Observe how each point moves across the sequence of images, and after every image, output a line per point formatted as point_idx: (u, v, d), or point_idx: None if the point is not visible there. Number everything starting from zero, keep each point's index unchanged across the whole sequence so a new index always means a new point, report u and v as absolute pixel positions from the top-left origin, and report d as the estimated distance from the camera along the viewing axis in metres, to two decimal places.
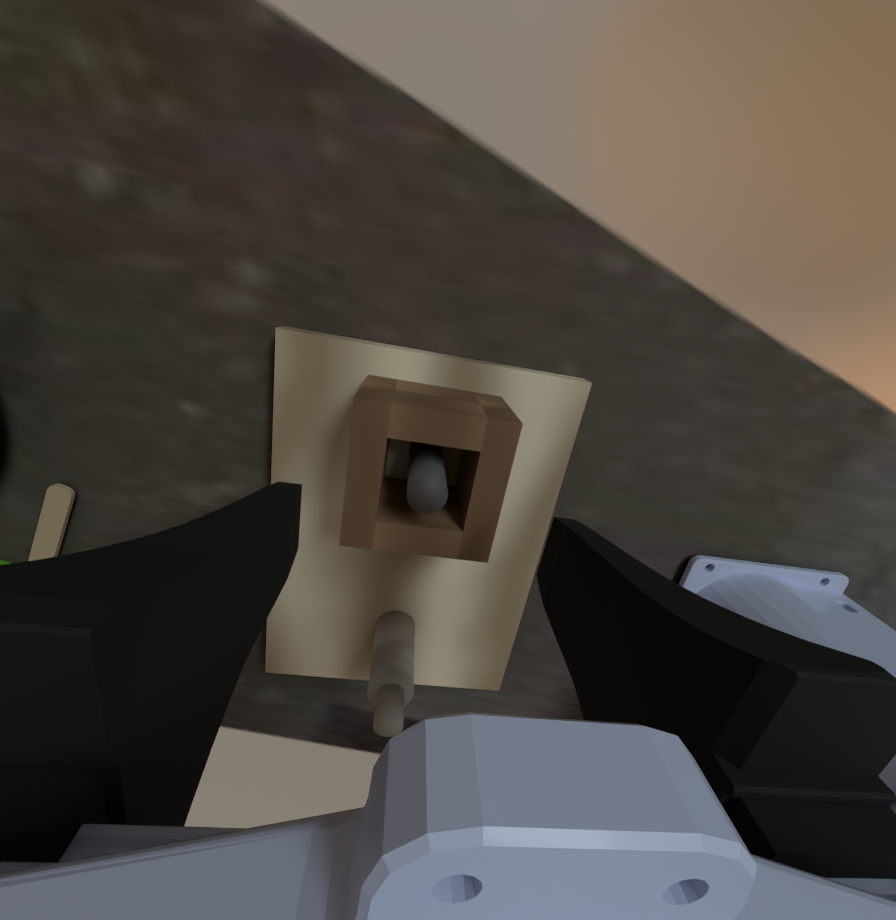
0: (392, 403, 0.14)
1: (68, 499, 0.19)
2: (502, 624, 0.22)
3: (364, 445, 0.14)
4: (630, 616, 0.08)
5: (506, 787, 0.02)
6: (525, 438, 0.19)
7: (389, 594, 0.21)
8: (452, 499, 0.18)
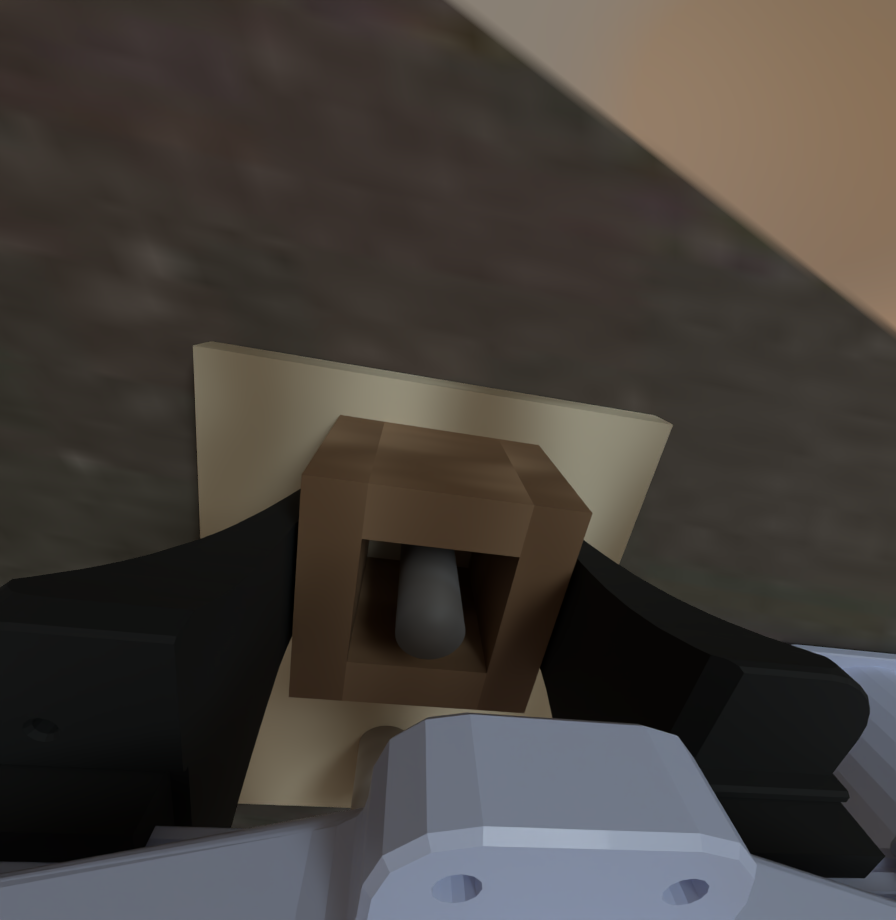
0: (369, 484, 0.08)
1: None
2: None
3: (323, 550, 0.08)
4: (594, 612, 0.08)
5: (506, 788, 0.02)
6: None
7: (376, 706, 0.15)
8: (466, 597, 0.12)
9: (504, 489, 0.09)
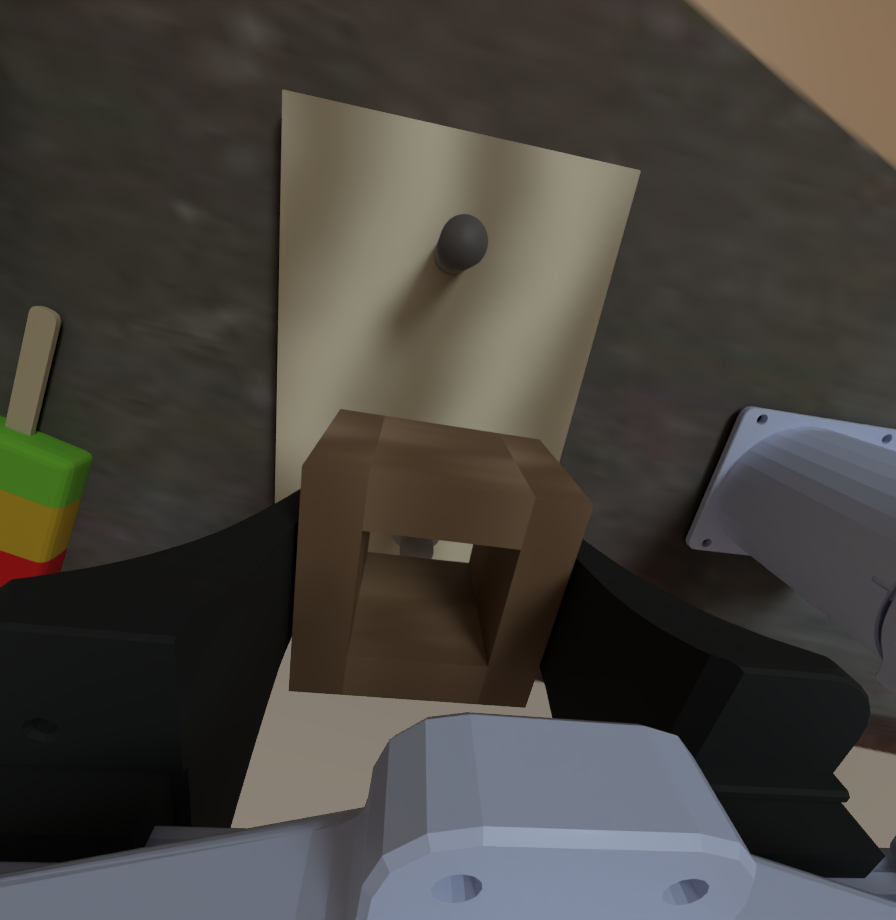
0: (370, 475, 0.08)
1: (53, 324, 0.17)
2: None
3: (323, 542, 0.08)
4: (594, 612, 0.08)
5: (506, 787, 0.02)
6: (564, 243, 0.16)
7: None
8: (466, 592, 0.12)
9: (505, 482, 0.09)
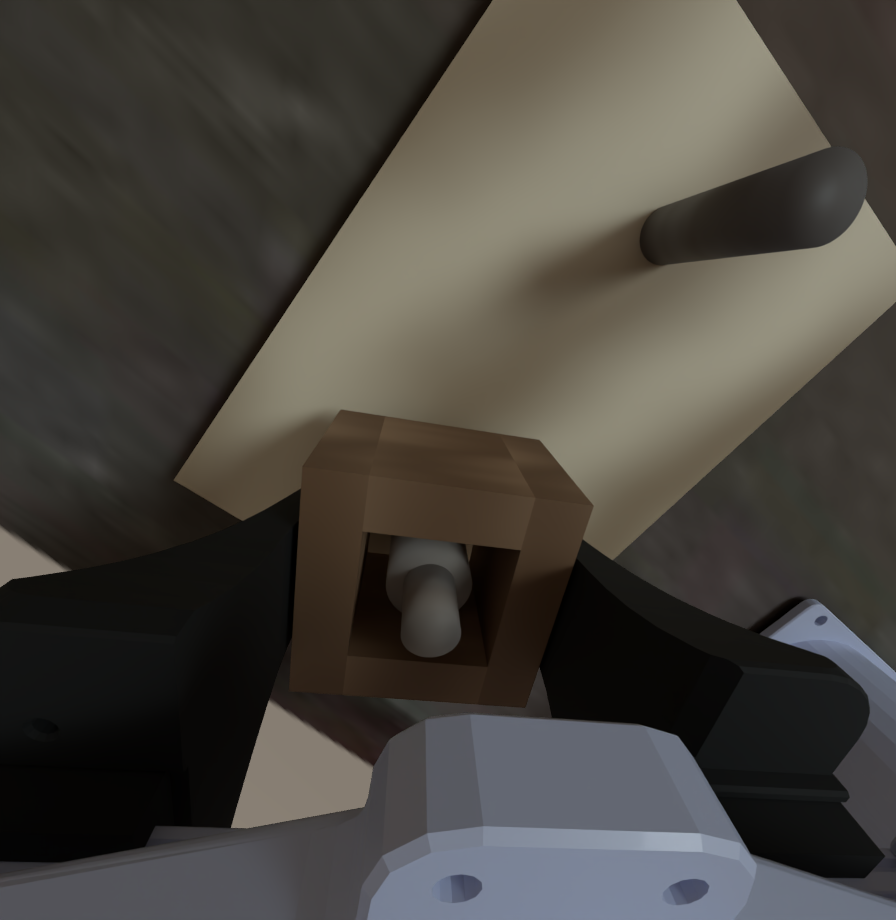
0: (370, 476, 0.08)
1: None
2: None
3: (323, 543, 0.08)
4: (594, 612, 0.08)
5: (506, 786, 0.02)
6: (790, 311, 0.12)
7: None
8: None
9: (505, 482, 0.09)
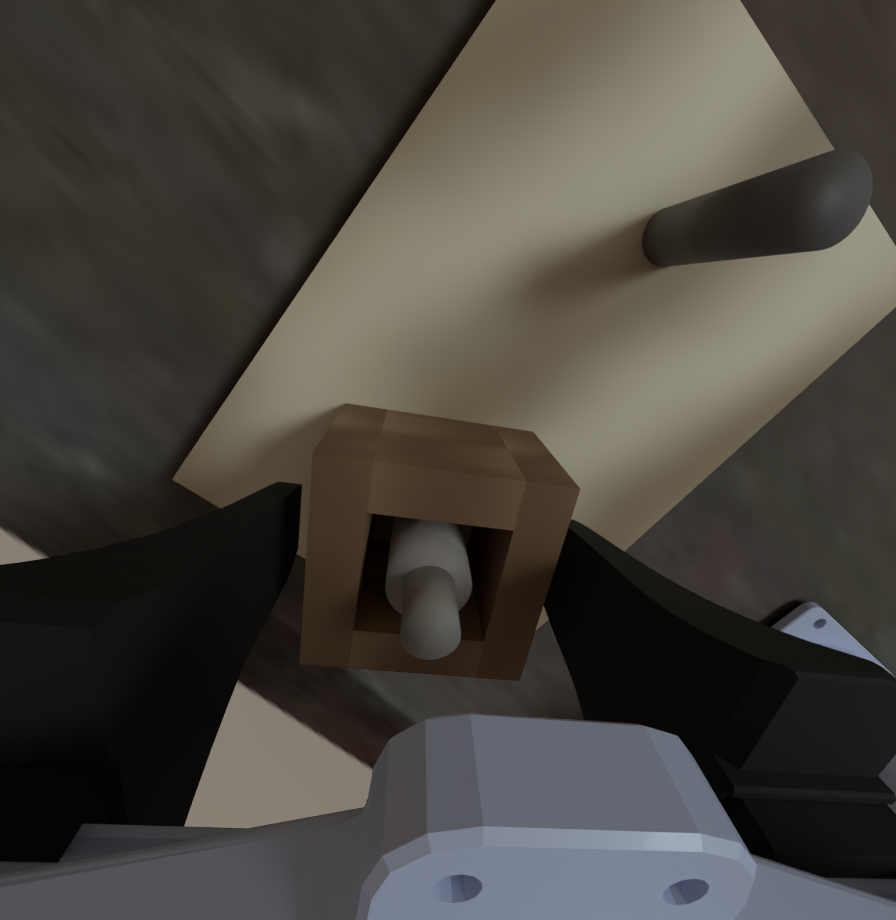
0: (374, 461, 0.08)
1: None
2: None
3: (331, 524, 0.09)
4: (630, 616, 0.08)
5: (506, 787, 0.02)
6: (792, 313, 0.12)
7: None
8: None
9: (499, 468, 0.09)
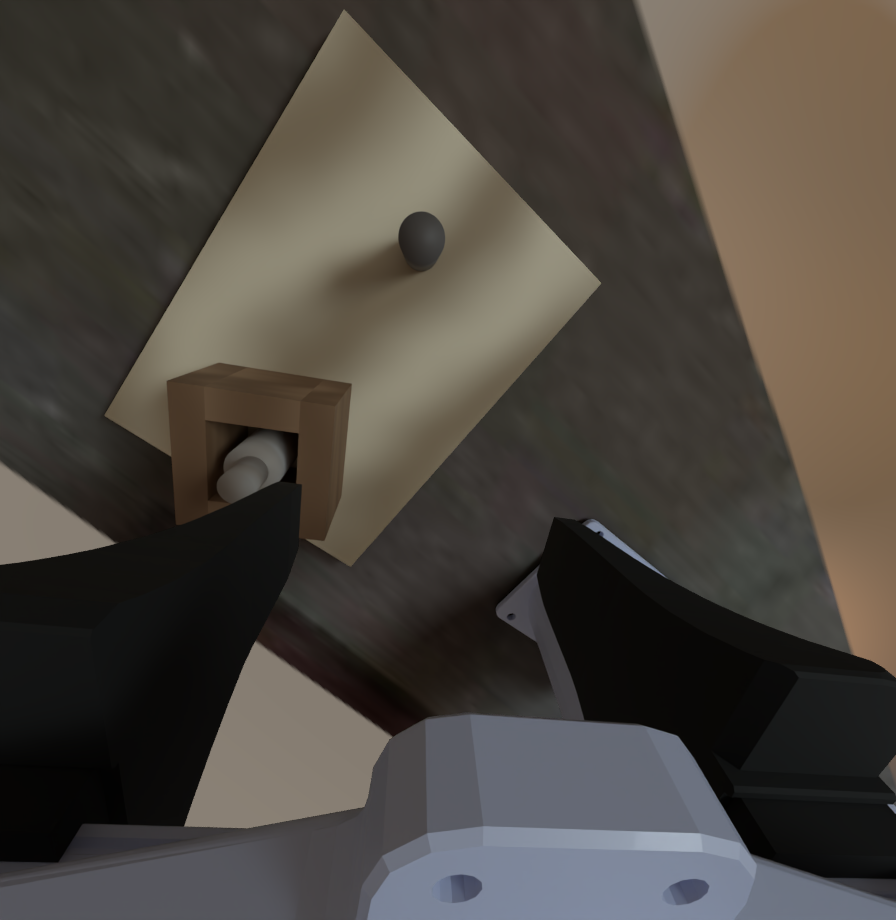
0: (204, 387, 0.14)
1: None
2: (392, 493, 0.21)
3: (184, 427, 0.15)
4: (630, 616, 0.08)
5: (506, 787, 0.02)
6: (517, 302, 0.18)
7: None
8: None
9: (290, 395, 0.15)
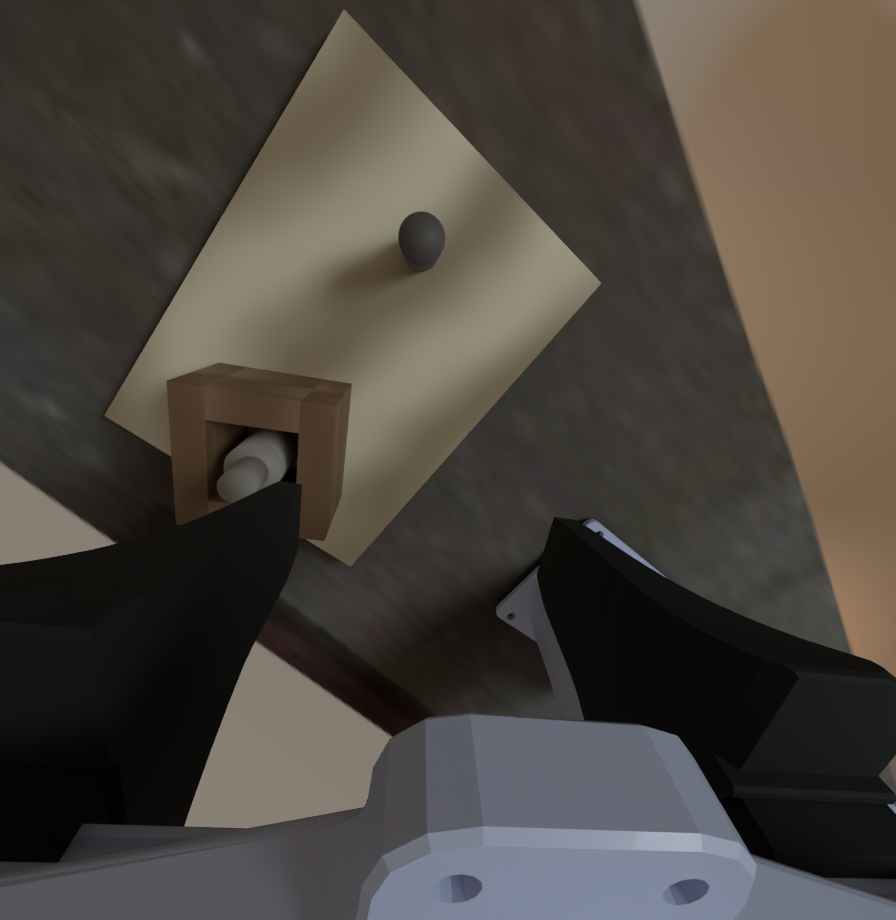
0: (204, 387, 0.14)
1: None
2: (392, 493, 0.21)
3: (184, 427, 0.15)
4: (630, 616, 0.08)
5: (506, 787, 0.02)
6: (517, 302, 0.18)
7: None
8: None
9: (290, 395, 0.15)
